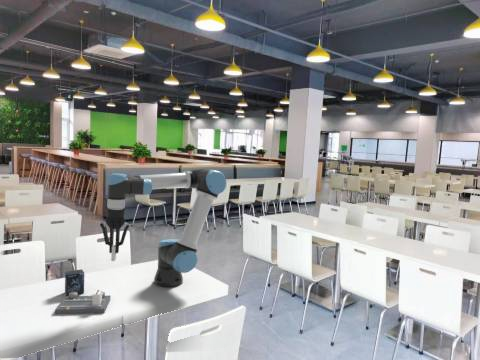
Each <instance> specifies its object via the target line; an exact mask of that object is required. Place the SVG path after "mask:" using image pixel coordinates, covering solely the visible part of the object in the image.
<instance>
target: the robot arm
mask: <svg viewBox="0 0 480 360" xmlns="http://www.w3.org/2000/svg"><path fill="white" fill-rule="evenodd" d="M107 182H108V183H107V186H108V187H107V204H106V205H107V206H106V207H107V209H106V219H105V220H104V221H103V222H101V223H99V226H100V227H101V229H102V233H103V239H104V243H105V245H108V246H109V250H108V251H109V254H111V256H110V257H111V258H110V259H111V260H110V261H111V262H116V260H117V254H119V251H120V246H122V245H124V242H125V240H126V239H125V238H126V236H127V232H128V229H129V228H130V227H131V224H130V223H128V222H126V218H125V210H126V209H125V207H126V196H130V195H131V196H147V195H150V194H151V193H152V191H153V190H160V189H172V188H173V189H174V188H175V189H176V188H185V189H195V192H196V198H195V200H194V203H193V204H192V208H191V211H190V213H189V216H188V218H187V221H186V223H185V226H184V229H183V231H182V233H181V236H180V238H171V239H162V240H160V241H159V242H158V246H157V249H158V250H157V269H156V271H155V275H154V278H153V283H154V285H155V286H157V287H163V288H173V287H176V286H180V285H182V284H183V283H184V282H183V280H184V277H183V274H186V273H189V272H191V271H193V270H194V269H195V268H196V266H197V265H198V255H197V252H198V250H199V249H198V246H197V244H198V241H199V238H200V235H201V233H202V231H203V228H204V225H205V222H206V219H207V217H208V214H209V212H210V209H211V207H212V205H213V202H214V201H216V200H217V199H218V196H219V195H220V194H221V193H224V191H225V189H226V188H227V179H226V177H225V175H224V173H223V172H221V171H218V170H216V169H208V168H197V169H190V170H188V169H187V170H184V171H183V172H174V173H157V174H156V173H155V174H142V175H141V174H140V175H129V174H128V175H126V174H125V173H110V174H109V175H108V181H107ZM107 226H108V228H109V235H108V230H107ZM122 227H123V228H124V229H123V232H122V234H121V229H122ZM120 234H121V235H120ZM114 236H115V239H114ZM120 237H121V238H120ZM114 241H115V244H114Z"/></svg>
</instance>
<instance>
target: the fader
mask: <svg viewBox="0 0 480 360" xmlns="http://www.w3.org/2000/svg"><path fill="white" fill-rule="evenodd" d="M102 292H103V290H102V289H95V290H94V291H93V292H92V296H93V300H92V306H97V305H100V304H101V302H102Z"/></svg>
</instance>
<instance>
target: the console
mask: <svg viewBox="0 0 480 360" xmlns="http://www.w3.org/2000/svg"><path fill="white" fill-rule="evenodd" d="M111 298H112V297H111V295H106V292H105V291H102V302H101V304H100V305H97V306H92V300H93V295H79V294H78V293H77V292H71V293H69V296H66V295H65V296H64V297H63V298H62V300H61V301H60V302H59V304H58V305H57V306H56V308H55V309H54V315H69V314H70V315H71V314H72V315H73V314H76V315H77V314H105V312H106V311H107V308H108V305H109V303H110V302H111Z"/></svg>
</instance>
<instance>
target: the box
mask: <svg viewBox="0 0 480 360" xmlns="http://www.w3.org/2000/svg"><path fill="white" fill-rule="evenodd" d="M64 273H65V274H64V293H65V296H69V293H71V292H77V293H78V295H81V294H85V272H84V270H83V269H74V270H68V271H65V272H64Z"/></svg>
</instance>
